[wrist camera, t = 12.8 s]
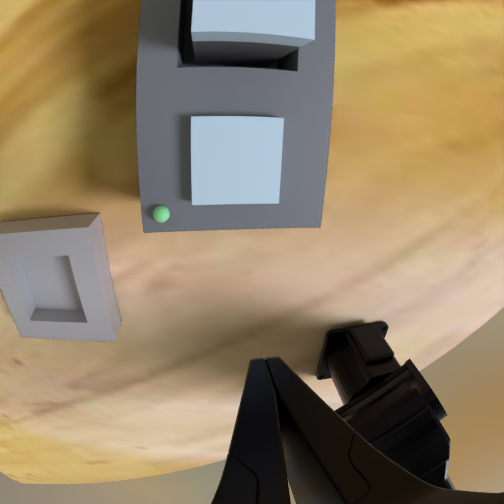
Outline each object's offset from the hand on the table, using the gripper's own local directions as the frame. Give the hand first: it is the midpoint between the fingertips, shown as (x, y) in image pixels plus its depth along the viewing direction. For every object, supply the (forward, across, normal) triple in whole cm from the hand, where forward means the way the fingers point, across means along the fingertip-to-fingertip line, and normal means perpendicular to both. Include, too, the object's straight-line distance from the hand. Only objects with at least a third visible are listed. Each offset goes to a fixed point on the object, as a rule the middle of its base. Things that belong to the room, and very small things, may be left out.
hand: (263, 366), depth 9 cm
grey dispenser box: (+13, 0, -8) cm, 15 cm away
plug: (+12, 0, -12) cm, 17 cm away
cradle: (+13, +13, +4) cm, 19 cm away
